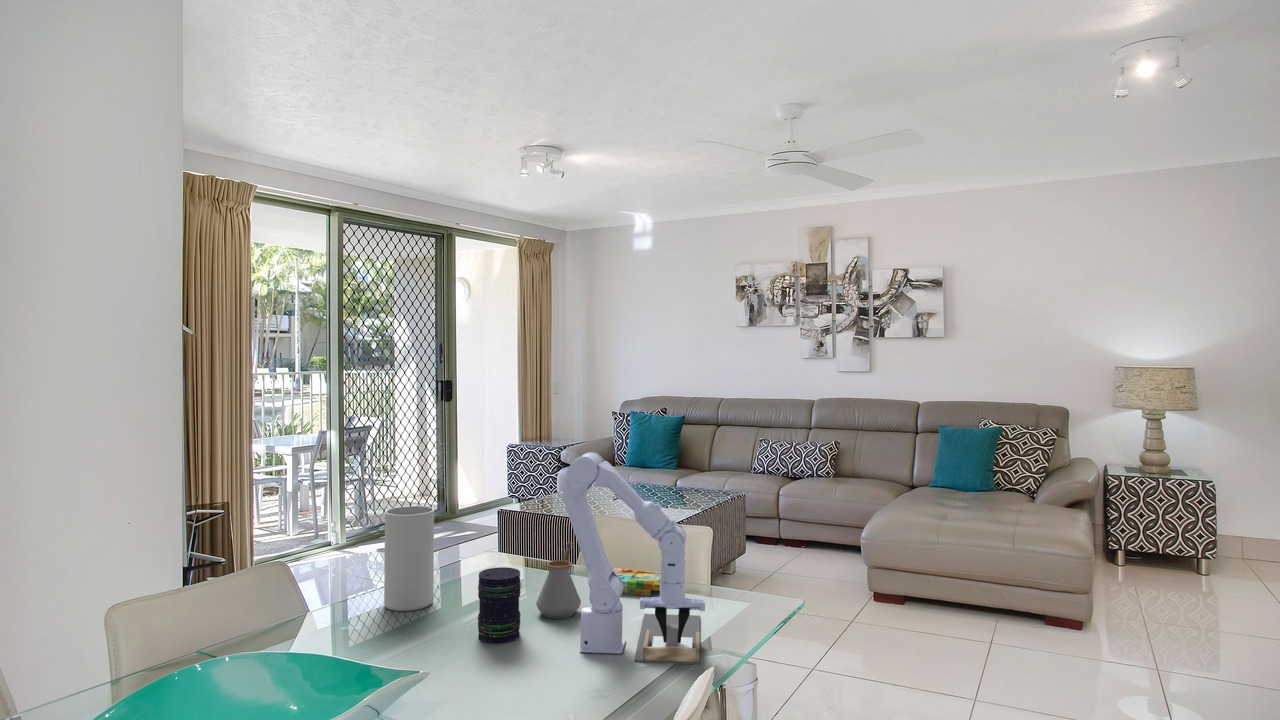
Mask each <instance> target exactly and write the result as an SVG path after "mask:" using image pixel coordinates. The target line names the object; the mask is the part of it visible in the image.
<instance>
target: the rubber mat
mask: <svg viewBox="0 0 1280 720" xmlns="http://www.w3.org/2000/svg"><path fill="white" fill-rule="evenodd" d="M667 624H673V625H678V629H679V618H678V614H667V618H666V625H667ZM647 630H650V644H649V647H652V642H653V636H663V635H662V631H661V627H660V625H659V622H658V620H657V618H656V616H655V613H643V617H642V623H641V627H640V632H639V636H638V637H639V638H638V640H637V646H636V650H635V654H634V659H633V662H634V663H649V662H650V663H651V664H652V663H654V664H675V665H676V664H677V665H681V664H682V665H698V666H699V665H701V654H700V655H699V662H684V661H659V660H643V646H644V641H645V636H646V631H647ZM696 632H700V633H701V616H700V615H696V614H695V615H691V614H690V615H689V618H688V620H687V622H686V624H685V626H684V629H683V633H682V637H689V638H693V643H692V648H696Z"/></svg>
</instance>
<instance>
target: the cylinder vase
mask: <svg viewBox="0 0 1280 720" xmlns="http://www.w3.org/2000/svg"><path fill="white" fill-rule="evenodd" d="M434 545H435V508H434V507H433V506H432V507H431V506H426V505H425V506H424V505H408V506H407V505H406V506H398V507H392V508H389V509H386V510H385V511H384V571H383V572H384V574H383V575H384V576H383V577H384V578H383V580H384V581H383V582H384V583H383V587H384V589H383V591H384V592H383V593H384V594H383V595H384V597H383V602H384V603H383V605H384V606H385V608H386V609H387V610H390V611H395V612H411V611H418V610H422V609H425V608H428V607H429V606H430V605H432V604H433V602H434V583H435V582H434V580H435V579H434V576H435V575H434V573H435V571H434V570H435V569H434V568H435V567H434V566H435V564H434V563H435V558H434V555H435V554H434V553H435V546H434Z"/></svg>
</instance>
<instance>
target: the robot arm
mask: <svg viewBox="0 0 1280 720" xmlns="http://www.w3.org/2000/svg"><path fill="white" fill-rule="evenodd" d="M565 473H566V475H565V482H564V486H563V490H562V501H563V503H564V506H565V509H566V512H567V514H568V518H569V521H570V524H571V527H572V529H573V532H574V534H575V538H576V540H577V544H578V547H579V549H580V552H581V555H582V558H583V561H584V564H585V567H586V570H587V583H588V584H587V585H588V587H589V596H588V597H589V598H588V599H589V603H590V606H583V607H582V609H581V615H580V649H579V652H580V653H589V654H590V653H595V654H596V653H597V654H618V655H620V654H622V653H624V647H625V644H626V638H623V604H622V602H621V600H620V597H621V596H622V595H623V594H624V593H623V589H624V585H623V581H622V580H621V578H620V577H619V576H618V575H617V574H616V573H615V571H614V568H615V567H614V565H612V564H611V562H609V559H608V557H607V554H606V551H605V548H604V545H603V543H602V542H603V541H602V539H601V537H600V534H599V531H598V528H597V525H596V522H595V519H594V517H593V514H592V510H591V507H590V505H589V502H588V500H587V496H588V494H589V492H590V489H591V488H592V486H593V484H594V486H595V487H598V488H599V487H601V488H607V489H609V490H610V491H611V492H613V494H615V495H616V496H617V498H619V499H620V500H621V501H622V502H623V503H624V504H626V505H627V506H628V508H630V509H631V510H632V511H633V512H634V521H635V522H636V523H637V524H638V525H639V526H640V527H641V528H642V529H643V530H644V531H645V532H646V533H647V534H648V535H649V536H650V537H651V538H653V540H655V541H657V542H658V548H659V550H660V560H659V562H660V563H659V573H660V591H659V596H653V597H640V599H639V609H640V610H645V609H654V614H655V616H656V618H657V620H658V622H659V625H660V627H661V631H662V635H663V641H664V642H665V643H666V639H667V625H666V618H667V615H668V614H667V613H668V612H667V610H678V613H677V615H678V618H679V629H678V643H681V637H682V633H683V629H684V626H685V624H686V622H687V620H688V618H689V615H691V611H692V610H693V611H700V612H705V611H706V600H705V599H696V598H690V597H686V570H687V569H686V567H687V566H686V565H687V564H686V563H687V562H686V551H685V550H686V549H685V548H686V543H687V532H686V531H685V529H684V528H683V526H682V525H680V524H678V523H677V521H676V520H675V519H671V518H670V517H669V516H668V515H667V514H666V513H665V512H664V511H663V510H662V505H661V504H660V503H655V502H654V501H652V500H649V501H648V500H644V499H643V498H642V497H641V495H639V493H637V491H636V490H635V489H634V488H633V487H632V486H631V485H630V484H629V483H628V482H627V481H626V479H625V478H624V477H623V476H622V475H621V474H620V473H619V472H618V471H617V470H616V468H614V466H613V465H612V464H611V463H610V462H608V461H607V460H604V458H603V457H602V455H600V454H599V453H597V452H594V451H589V452H585V453H584V454H583V455H581V456H578V457H577V458H574V460H572V462H571V463H570V465H569V467H568V468H567V470H566V472H565ZM594 482H595V483H594ZM690 610H691V611H690Z"/></svg>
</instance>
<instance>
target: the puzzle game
mask: <svg viewBox="0 0 1280 720" xmlns="http://www.w3.org/2000/svg"><path fill="white" fill-rule="evenodd" d="M613 568H614V571H615V573H616V574H617V575H618V576H619V577H620V578H621V580H622V581H623V585H624V589H623V593H622V594H628V593H633V594H632V595H638V594H644V595H643V596H648V595H649V596H650V595H652V593H653V592H654V591H657V592H660V571H659V572H658V571H648V570H647V571H646V570H636V569H632V568H629V567H627V568H620V567H613ZM653 590H654V591H653Z"/></svg>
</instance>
